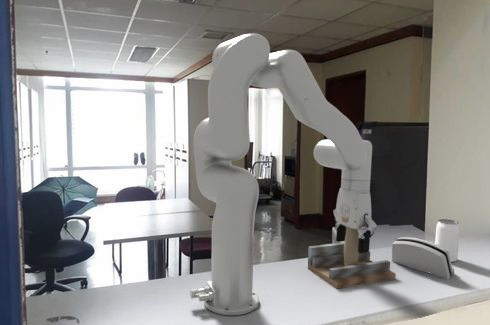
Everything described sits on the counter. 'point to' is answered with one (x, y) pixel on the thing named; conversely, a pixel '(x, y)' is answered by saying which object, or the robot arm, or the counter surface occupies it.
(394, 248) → the grey curved slotted block
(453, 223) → the can
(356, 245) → the handle
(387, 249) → the counter surface
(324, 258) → the track
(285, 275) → the counter surface
